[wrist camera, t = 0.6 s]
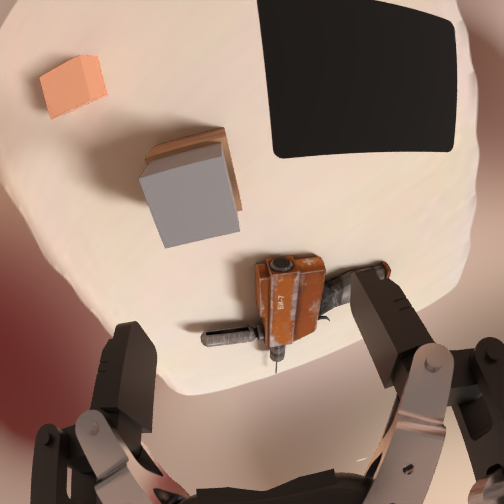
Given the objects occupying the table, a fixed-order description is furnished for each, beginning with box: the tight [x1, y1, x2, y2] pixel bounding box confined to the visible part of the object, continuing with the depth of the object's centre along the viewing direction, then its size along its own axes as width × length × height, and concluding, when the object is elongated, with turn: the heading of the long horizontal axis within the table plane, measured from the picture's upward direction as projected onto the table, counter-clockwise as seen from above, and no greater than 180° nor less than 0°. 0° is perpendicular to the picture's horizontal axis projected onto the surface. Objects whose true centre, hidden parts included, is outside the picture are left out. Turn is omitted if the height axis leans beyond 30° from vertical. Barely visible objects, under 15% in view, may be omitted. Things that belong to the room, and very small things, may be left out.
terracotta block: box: [39, 55, 108, 119], centre depth 22 cm, size 5×5×5 cm
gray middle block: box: [139, 142, 240, 248], centre depth 26 cm, size 7×7×5 cm
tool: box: [201, 256, 391, 373], centre depth 47 cm, size 4×27×30 cm
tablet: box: [257, 0, 457, 159], centre depth 27 cm, size 27×1×20 cm
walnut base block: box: [145, 128, 242, 211], centre depth 30 cm, size 8×8×5 cm
